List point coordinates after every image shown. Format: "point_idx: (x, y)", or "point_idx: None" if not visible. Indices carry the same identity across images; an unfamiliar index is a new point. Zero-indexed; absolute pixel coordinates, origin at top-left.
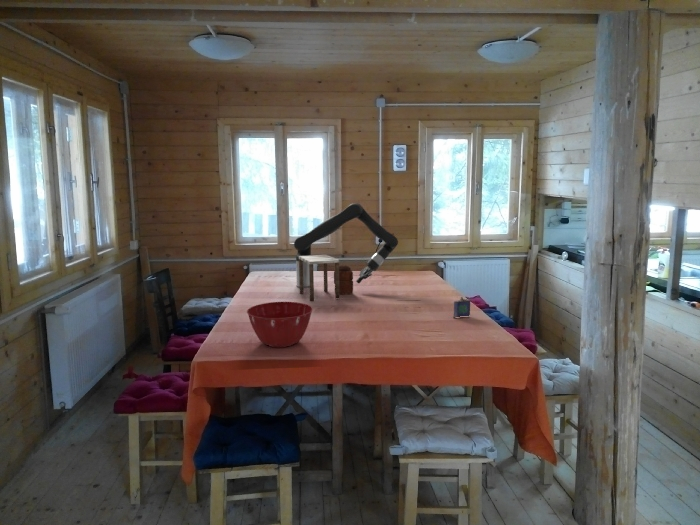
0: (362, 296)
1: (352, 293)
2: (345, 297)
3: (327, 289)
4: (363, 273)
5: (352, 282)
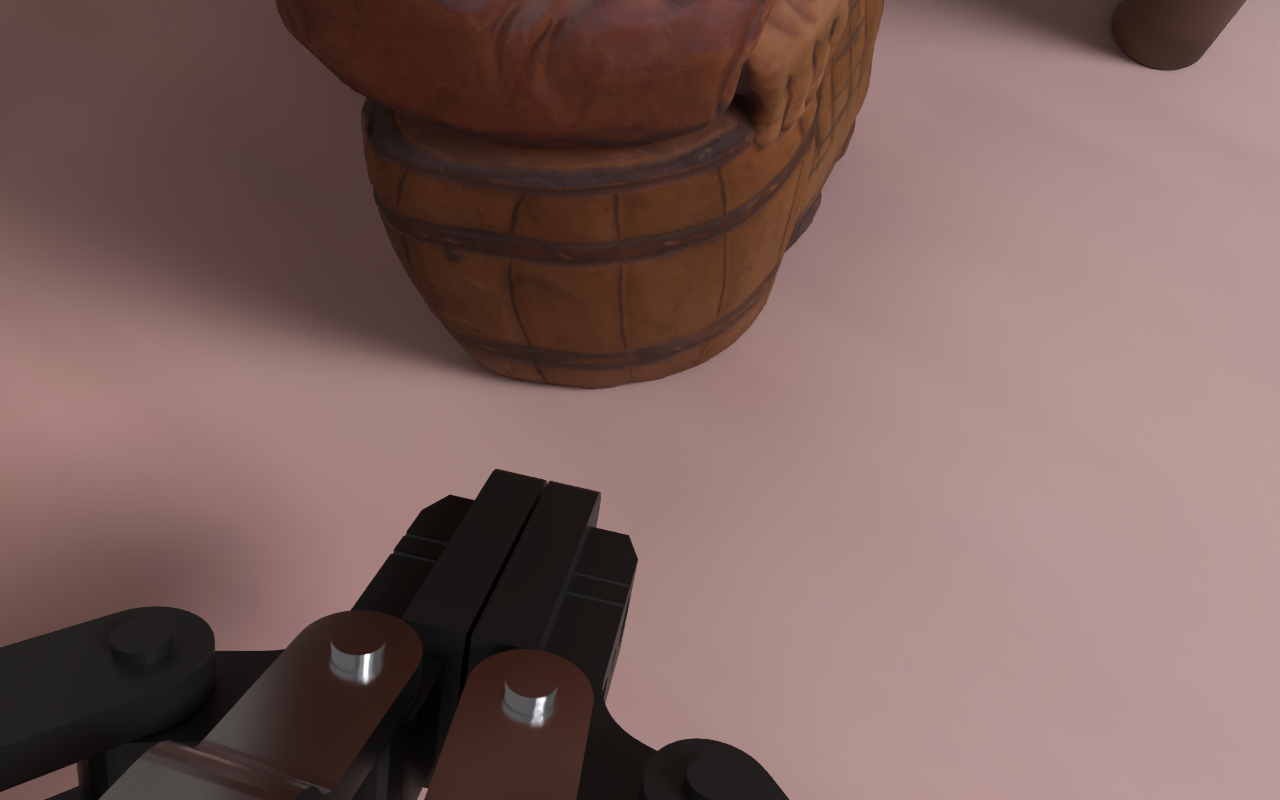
0: (48, 412)
1: (466, 350)
2: (285, 40)
3: (1148, 12)
4: (149, 760)
5: (364, 145)
